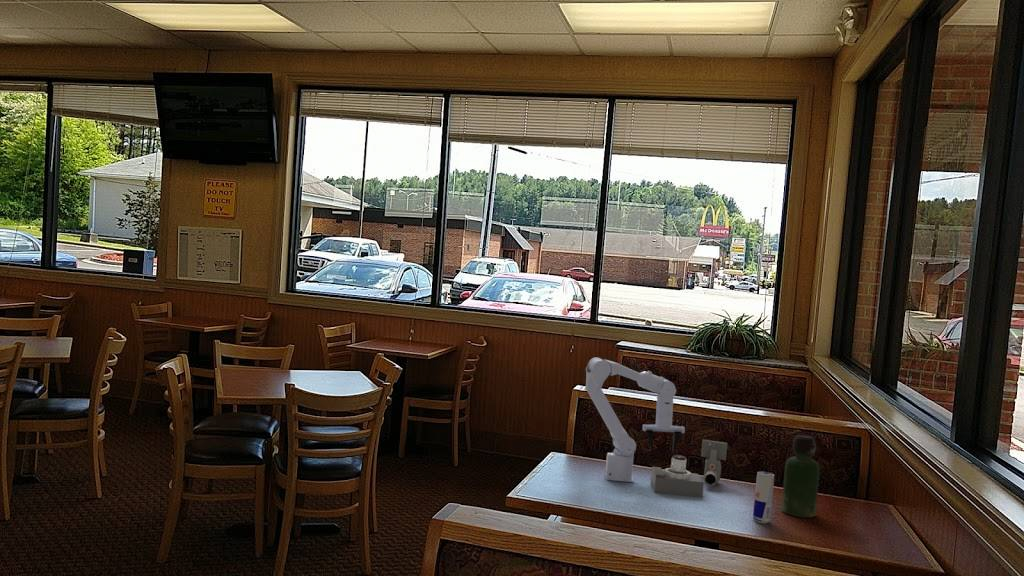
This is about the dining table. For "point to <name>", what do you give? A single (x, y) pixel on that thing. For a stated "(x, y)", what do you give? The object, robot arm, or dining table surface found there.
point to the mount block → (676, 482)
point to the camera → (713, 460)
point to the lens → (678, 464)
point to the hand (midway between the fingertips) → (662, 451)
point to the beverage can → (763, 497)
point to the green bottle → (801, 479)
